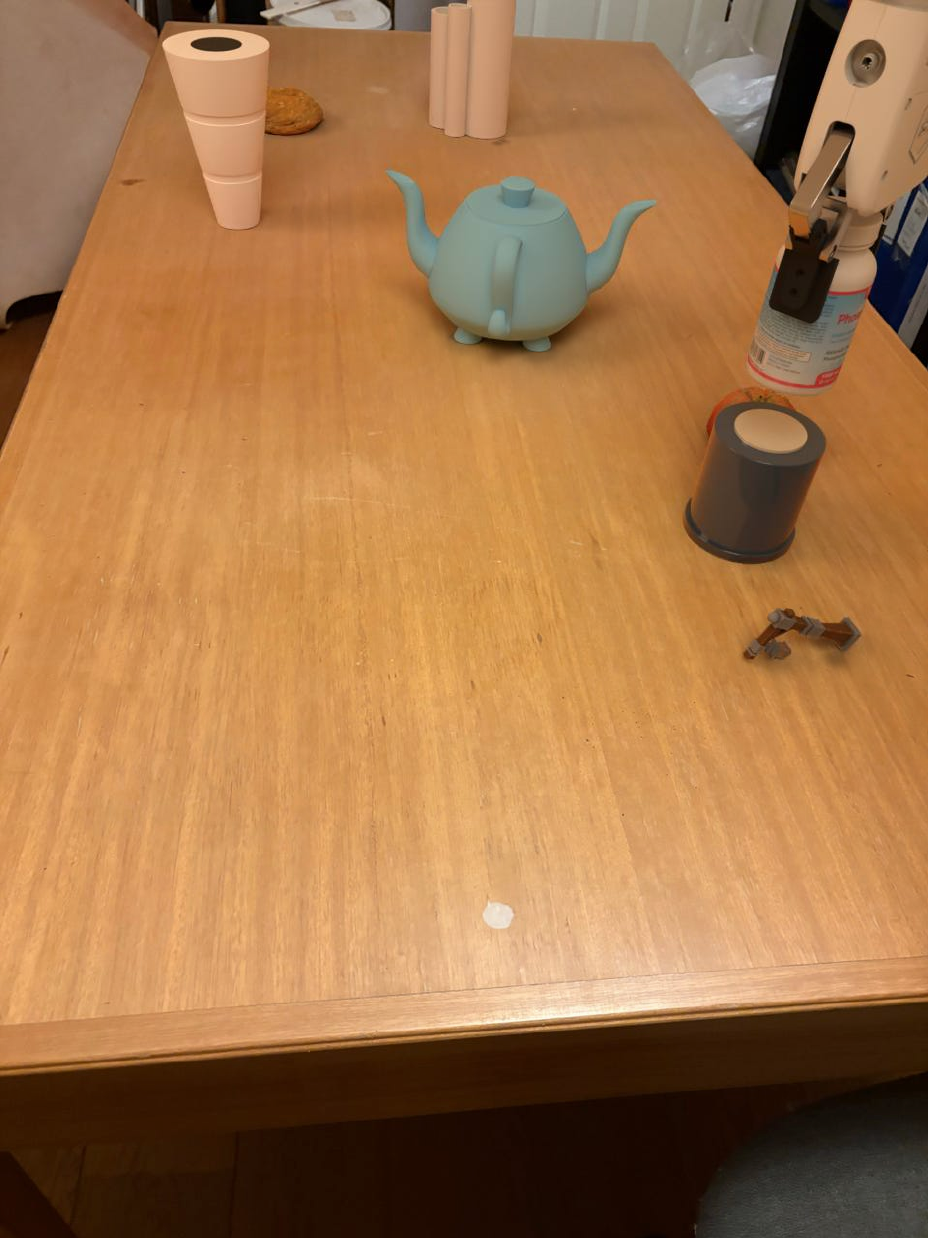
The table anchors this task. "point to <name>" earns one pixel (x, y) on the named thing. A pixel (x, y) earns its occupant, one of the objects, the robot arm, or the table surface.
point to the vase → (471, 67)
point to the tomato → (747, 396)
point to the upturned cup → (753, 481)
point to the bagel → (290, 111)
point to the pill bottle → (816, 351)
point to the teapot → (511, 260)
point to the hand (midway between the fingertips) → (817, 293)
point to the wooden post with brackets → (786, 621)
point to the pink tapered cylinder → (224, 114)
